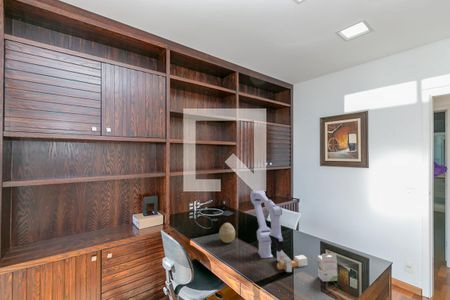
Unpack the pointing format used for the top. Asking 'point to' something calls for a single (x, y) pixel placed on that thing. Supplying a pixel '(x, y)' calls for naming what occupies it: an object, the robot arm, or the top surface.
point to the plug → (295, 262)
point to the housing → (284, 258)
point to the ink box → (327, 267)
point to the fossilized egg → (227, 233)
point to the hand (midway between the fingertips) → (276, 248)
